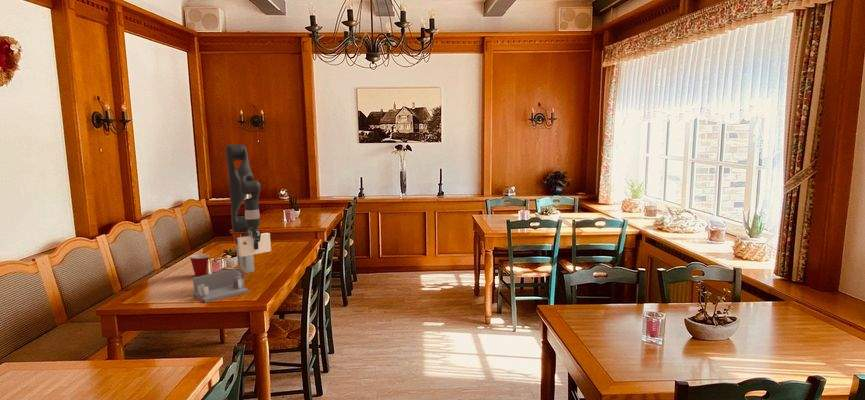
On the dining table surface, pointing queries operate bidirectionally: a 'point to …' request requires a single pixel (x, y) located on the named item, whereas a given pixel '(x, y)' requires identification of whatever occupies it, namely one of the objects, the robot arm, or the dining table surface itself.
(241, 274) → the tin
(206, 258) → the plastic cup
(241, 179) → the robot arm
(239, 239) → the door
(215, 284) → the hinge bracket
